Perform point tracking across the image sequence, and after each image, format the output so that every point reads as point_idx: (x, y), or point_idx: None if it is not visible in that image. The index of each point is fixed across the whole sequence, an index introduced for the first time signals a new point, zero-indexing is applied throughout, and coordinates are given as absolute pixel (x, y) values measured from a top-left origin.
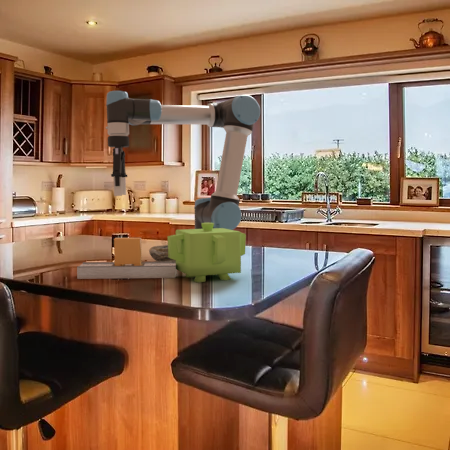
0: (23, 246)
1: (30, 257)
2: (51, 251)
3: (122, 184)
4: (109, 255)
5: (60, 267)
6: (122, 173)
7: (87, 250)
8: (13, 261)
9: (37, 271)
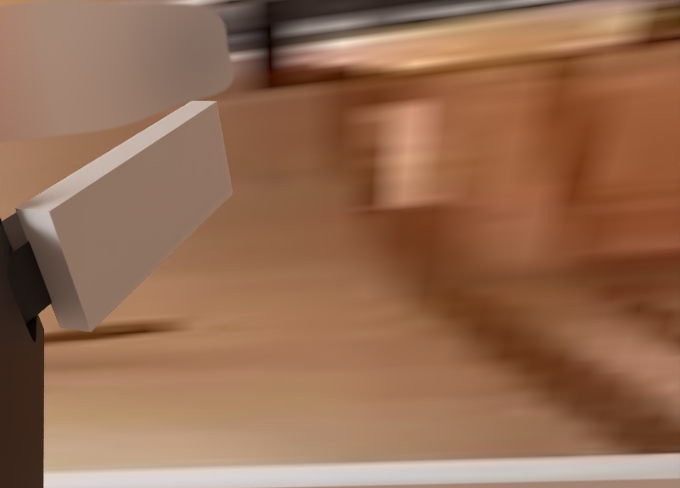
0: None
1: (283, 418)
2: (125, 361)
3: (144, 202)
4: None
5: (580, 302)
6: (13, 303)
7: None
8: (382, 461)
9: (677, 379)
